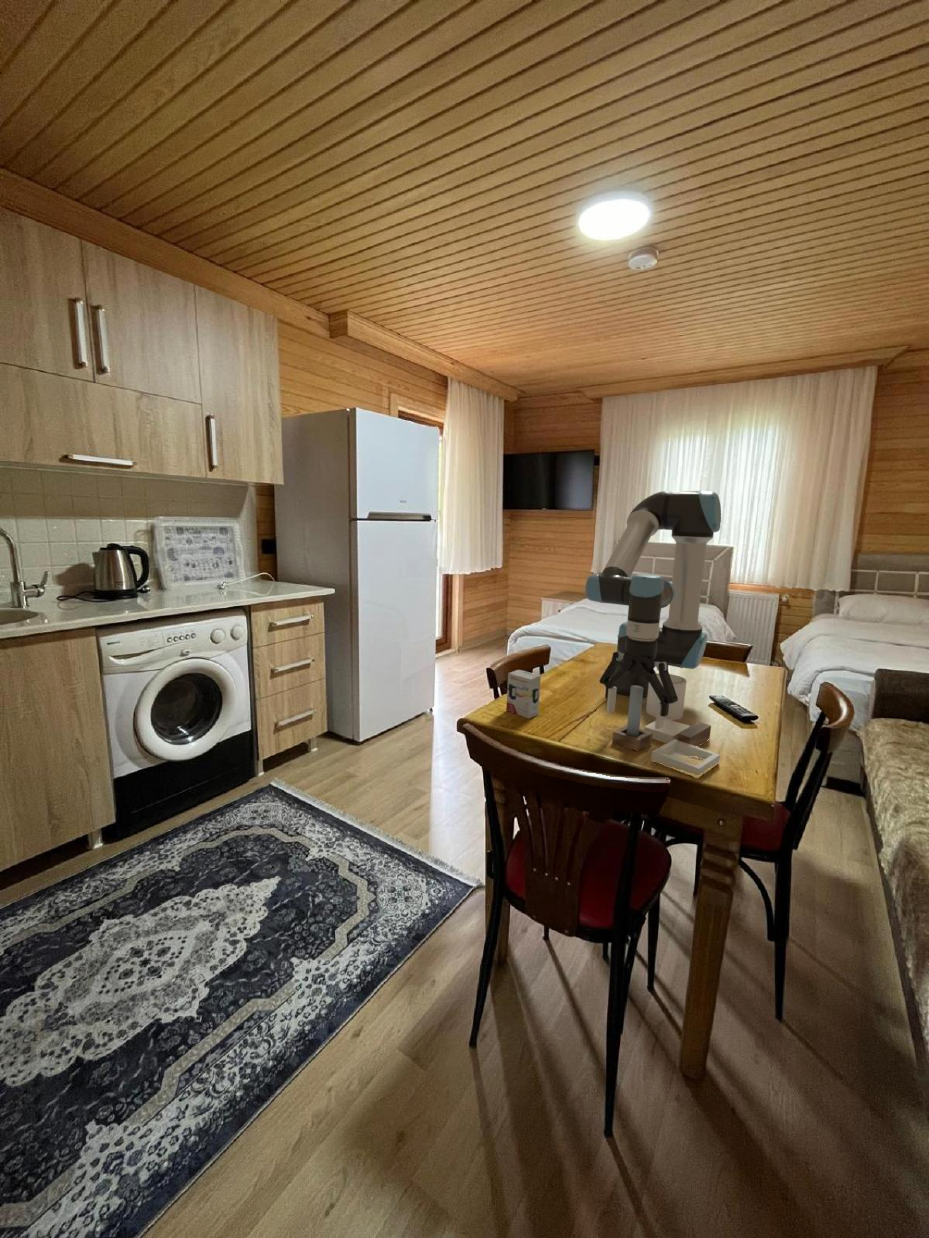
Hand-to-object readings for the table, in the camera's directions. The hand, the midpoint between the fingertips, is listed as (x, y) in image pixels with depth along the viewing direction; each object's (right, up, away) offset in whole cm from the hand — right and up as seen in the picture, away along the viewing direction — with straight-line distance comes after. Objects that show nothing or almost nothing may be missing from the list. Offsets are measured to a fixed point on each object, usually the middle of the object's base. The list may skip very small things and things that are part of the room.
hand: (633, 719), depth 136 cm
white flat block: (+11, -6, +7) cm, 14 cm away
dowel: (0, -6, +1) cm, 7 cm away
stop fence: (+16, -7, +2) cm, 17 cm away
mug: (+16, -3, +22) cm, 27 cm away
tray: (+9, -9, -9) cm, 15 cm away
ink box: (-26, -2, +20) cm, 33 cm away
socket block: (0, -6, +1) cm, 7 cm away
